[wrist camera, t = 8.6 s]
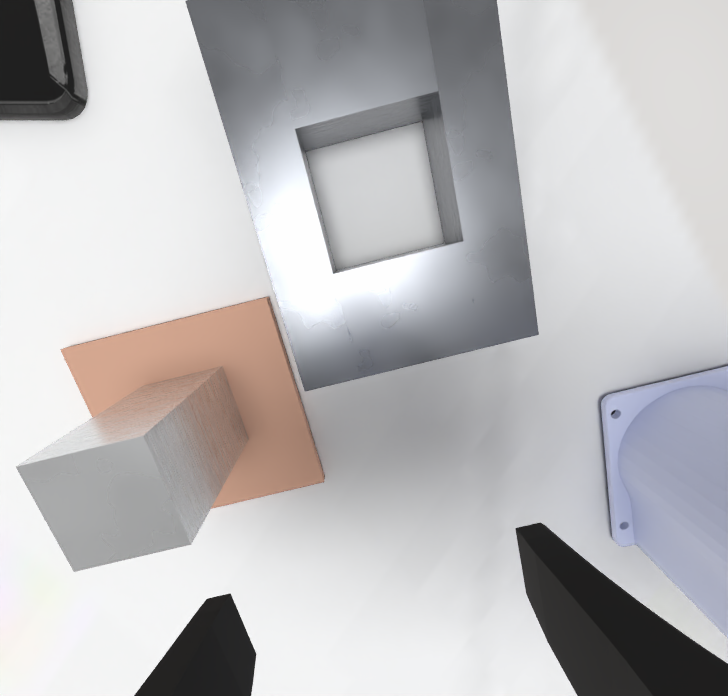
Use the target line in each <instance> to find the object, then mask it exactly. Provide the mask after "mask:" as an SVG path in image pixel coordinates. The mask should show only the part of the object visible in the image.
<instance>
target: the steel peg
mask: <svg viewBox="0 0 728 696" xmlns="http://www.w3.org/2000/svg"><path fill="white" fill-rule="evenodd" d="M248 440H249V437H248V434H247V432H246V429H245V426H244V423H243V421H242V418H241V415H240V412H239V410H238V407H237V404H236V401H235V398H234V396H233V393H232V390H231V387H230V385H229V382H228V379H227V376H226V373H225V371H224V368H223V366H220V367H216V368H212V369H208V370H204V371H200V372H196V373H192V374H187V375H183V376H179V377H175V378H171V379H167V380H163V381H159V382H155V383H151V384H147V385H143V386H142V387H140V388H138V389H137V390H135V391H134V392H132V393H131V394H129V395H127V396H126V397H124V398H123V399H121V400H120V401H118V402H117V403H115V404H113V405H112V406H110V407H109V408H107V409H106V410H104V411H102V412H101V413H99V414H98V415H96V416H95V417H93V418H91V419H90V420H88V421H87V422H85V423H84V424H82V425H81V426H79V427H77V428H76V429H74V430H73V431H71V432H70V433H68V434H66V435H65V436H63V437H62V438H60V439H59V440H57V441H55V442H54V443H52V444H51V445H49V446H48V447H46V448H44V449H43V450H41V451H40V452H38V453H37V454H35V455H34V456H32V457H30V458H29V459H27V460H26V461H24V462H23V463H21V464H19V465H18V466H16V468H17V470H18V472H19V473H20V475H21V477H22V479H23V481H24V482H25V484H26V486H27V488H28V490H29V491H30V493H31V495H32V497H33V499H34V500H35V502H36V504H37V506H38V508H39V510H40V511H41V513H42V515H43V517H44V519H45V520H46V522H47V524H48V526H49V528H50V529H51V531H52V533H53V535H54V537H55V538H56V540H57V542H58V544H59V546H60V547H61V549H62V551H63V553H64V555H65V556H66V558H67V560H68V562H69V564H70V566H71V567H72V569H73V571H74V572H75V571H79V570H84V569H88V568H92V567H97V566H101V565H105V564H109V563H114V562H118V561H122V560H126V559H131V558H135V557H139V556H144V555H148V554H152V553H156V552H161V551H165V550H169V549H173V548H178V547H182V546H186V545H191V544H192V542H193V540H194V538H195V536H196V535H197V533H198V531H199V529H200V527H201V526H202V524H203V522H204V520H205V518H206V516H207V515H208V513H209V511H210V509H211V507H212V505H213V504H214V502H215V500H216V498H217V496H218V495H219V493H220V491H221V489H222V487H223V485H224V484H225V482H226V480H227V478H228V476H229V474H230V473H231V471H232V469H233V467H234V465H235V464H236V462H237V460H238V458H239V456H240V454H241V453H242V451H243V449H244V447H245V445H246V444H247V442H248Z"/></svg>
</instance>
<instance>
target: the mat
mask: <svg viewBox="0 0 728 696" xmlns="http://www.w3.org/2000/svg"><path fill="white" fill-rule="evenodd" d="M61 352H62V354H63V356H64V358H65V360H66V363H67V365H68V367H69V369H70V371H71V373H72V375H73V377H74V379H75V382H76V384H77V386H78V388H79V390H80V392H81V394H82V396H83V398H84V401H85V403H86V405H87V407H88V409H89V411H90V413H91V415H92V417H95V416H96V415H98V414H99V413H101V412H102V411H104V410H106V409H107V408H109V407H110V406H112V405H113V404H115V403H117V402H118V401H120V400H121V399H123V398H124V397H126V396H127V395H129V394H131V393H132V392H134V391H135V390H137V389H138V388H140V387H142V386H143V385H147V384H151V383H155V382H159V381H163V380H167V379H171V378H175V377H179V376H183V375H187V374H192V373H196V372H200V371H204V370H208V369H212V368H216V367H220V366H223V368H224V371H225V373H226V376H227V379H228V382H229V385H230V387H231V390H232V393H233V396H234V398H235V401H236V404H237V407H238V410H239V412H240V415H241V418H242V421H243V423H244V426H245V429H246V432H247V434H248V437H249V440H248V442H247V444H246V445H245V447H244V449H243V451H242V453H241V454H240V456H239V458H238V460H237V462H236V464H235V465H234V467H233V469H232V471H231V473H230V474H229V476H228V478H227V480H226V482H225V484H224V485H223V487H222V489H221V491H220V493H219V495H218V496H217V498H216V500H215V502H214V504H213V505H212V507H211V509H212V508H216V507H220V506H224V505H229V504H233V503H237V502H241V501H246V500H250V499H254V498H258V497H262V496H267V495H271V494H275V493H279V492H284V491H288V490H292V489H296V488H301V487H305V486H309V485H313V484H318V483H322V482H324V478H325V476H324V473H323V470H322V466H321V463H320V460H319V457H318V453H317V450H316V447H315V444H314V441H313V437H312V434H311V431H310V428H309V425H308V421H307V418H306V415H305V412H304V408H303V405H302V402H301V399H300V396H299V392H298V389H297V386H296V383H295V380H294V376H293V373H292V370H291V367H290V363H289V360H288V357H287V354H286V351H285V347H284V344H283V341H282V338H281V335H280V331H279V328H278V325H277V322H276V318H275V315H274V312H273V309H272V306H271V302H270V299H269V297H265V298H261V299H257V300H253V301H249V302H245V303H241V304H237V305H233V306H229V307H225V308H221V309H217V310H213V311H209V312H205V313H201V314H197V315H193V316H189V317H185V318H181V319H178V320H174V321H170V322H166V323H162V324H158V325H154V326H150V327H146V328H142V329H138V330H134V331H130V332H126V333H122V334H118V335H114V336H110V337H106V338H102V339H98V340H94V341H90V342H86V343H82V344H78V345H74V346H70V347H67V348H64V349H61Z"/></svg>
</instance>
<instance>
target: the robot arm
mask: <svg viewBox="0 0 728 696" xmlns="http://www.w3.org/2000/svg"><path fill="white" fill-rule="evenodd" d="M601 410H602V422H603V434H604V445H605V457H606V469H607V480H608V492H609V504H610V515H611V527H612V538H613V540H614V541H615V542H616V544H618V545H619V546H621V547H625V546H630V545H634V544H636V545H637V546H638V547H639V548H640V549H641V550H642V551H643V552H644V553H645V554H646V555H647V556H648V557H649V558H650V559H651V560H652V561H653V562H654V563H655V564H656V565H657V566H658V567H659V568H660V569H661V570H662V571H663V572H664V573H665V574H666V575H667V577H668V578H669V579H670V580H671V581H672V582H673V583H674V584H675V585H676V586H677V587H678V588H679V589H680V590H681V591H682V592H683V593H684V594H685V595H686V596H687V597H688V598H689V599H690V600H691V601H692V602H693V603H694V604H695V605H696V606H697V607H698V608H699V609H700V610H701V611H702V612H703V613H704V614H705V615H706V616H707V617H708V619H709V620H710V621H711V622H712V623H713V624H714V625H715V626H716V627H717V628H718V629H719V630H720V631H721V632H722V633H723V634H724V635H725V636H726V637H727V638H728V366H726V367H721V368H717V369H713V370H709V371H705V372H700V373H696V374H692V375H688V376H684V377H679V378H675V379H671V380H667V381H663V382H658V383H654V384H650V385H646V386H641V387H637V388H633V389H629V390H625V391H620V392H616V393H612V394H609V395H606V396H605V397H604V398H603V400H602V402H601ZM613 410H616V411H615V413H614V414H613V415H611V413H612V411H613ZM622 522H623V523H622ZM621 523H622V524H621ZM516 534H517V540H518V546H519V552H520V558H521V564H522V570H523V576H524V582H525V588H526V594H527V596H528V598H529V601H530V603H531V605H532V608H533V610H534V612H535V614H536V617H537V619H538V621H539V623H540V625H541V628H542V630H543V632H544V634H545V636H546V639H547V641H548V643H549V645H550V647H551V649H552V650H553V652H554V654H555V656H556V658H557V659H558V661H559V663H560V665H561V667H562V668H563V670H564V672H565V674H566V676H567V677H568V679H569V681H570V683H571V685H572V686H573V688H574V690H575V692H576V694H577V695H578V696H728V664H727V663H726V662H724V661H723V660H721V659H720V658H718V657H717V656H715V655H714V654H712V653H711V652H709V651H708V650H706V649H705V648H703V647H702V646H701V645H699V644H698V643H696V642H695V641H693V640H692V639H690V638H689V637H687V636H686V635H685V634H683V633H682V632H680V631H679V630H678V629H676V628H675V627H673V626H672V625H671V624H669V623H668V622H666V621H665V620H663V619H662V618H661V617H659V616H658V615H657V614H655V613H654V612H652V611H651V610H650V609H648V608H647V607H646V606H644V605H643V604H642V603H640V602H639V601H638V600H636V599H635V598H634V597H632V596H631V595H630V594H629V593H627V592H626V591H625V590H623V589H622V588H621V587H619V586H618V585H617V584H615V583H614V582H613V581H612V580H610V579H609V578H608V577H606V576H605V575H604V574H603V573H601V572H600V571H599V570H598V569H596V568H595V567H594V566H593V565H591V564H590V563H589V562H588V561H587V560H585V559H584V558H583V557H582V556H580V555H579V554H578V553H577V552H576V551H574V550H573V549H572V548H571V547H570V546H568V545H567V544H566V543H565V542H564V541H563V540H561V539H560V538H559V537H558V536H557V535H556V534H554V533H553V532H552V531H551V530H550V529H549V528H547V527H546V526H545V525H543V524H542V523H536V524H532V525H528V526H523V527H519V528H516ZM255 660H256V652H255V650H254V648H253V645H252V643H251V641H250V638H249V636H248V634H247V631H246V629H245V627H244V624H243V622H242V620H241V617H240V615H239V613H238V610H237V608H236V605H235V603H234V601H233V598H232V596H231V594H226V595H222V596H217V597H213V598H209V599H207V600H206V601H205V602H204V603H203V605H202V606H201V607H200V608H199V610H198V611H197V612H196V614H195V615H194V616H193V618H192V619H191V620H190V622H189V623H188V624H187V626H186V627H185V628H184V630H183V631H182V633H181V634H180V635H179V637H178V638H177V639H176V641H175V642H174V643H173V645H172V646H171V647H170V649H169V650H168V651H167V653H166V654H165V655H164V657H163V658H162V660H161V661H160V662H159V664H158V665H157V666H156V667H155V669H154V670H153V671H152V673H151V674H150V675H149V677H148V678H147V679H146V681H145V682H144V683H143V685H142V686H141V687H140V689H139V690H138V691H137V693H136V694H135V695H134V696H251V692H252V685H253V677H254V668H255Z"/></svg>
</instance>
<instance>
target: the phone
mask: <svg viewBox="0 0 728 696" xmlns="http://www.w3.org/2000/svg"><path fill="white" fill-rule="evenodd" d="M86 102H87V84H86V78H85V73H84V67H83V61H82V55H81V49H80V43H79V38H78V32H77V26H76V20H75V14H74V8H73V3H72V0H0V120H68V119H73V118H74V117H76V116H78V115H79V114H80V113H81V112H82V111H83V109H84V108H85V105H86Z"/></svg>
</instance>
